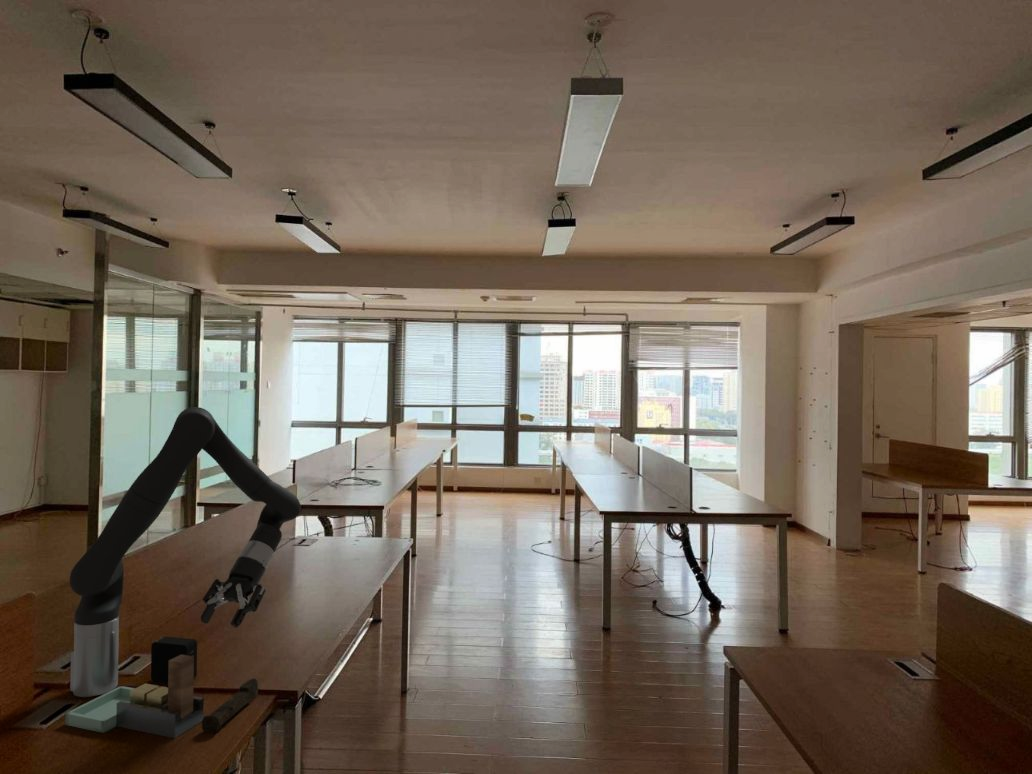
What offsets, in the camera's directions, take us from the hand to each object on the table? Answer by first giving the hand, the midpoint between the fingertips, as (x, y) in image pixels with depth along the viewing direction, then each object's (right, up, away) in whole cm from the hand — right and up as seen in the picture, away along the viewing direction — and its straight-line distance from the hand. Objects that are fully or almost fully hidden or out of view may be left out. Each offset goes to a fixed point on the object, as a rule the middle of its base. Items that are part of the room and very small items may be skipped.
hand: (218, 624), depth 153 cm
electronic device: (-17, -19, +12) cm, 28 cm away
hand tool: (+5, -19, -4) cm, 20 cm away
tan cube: (-13, -16, -8) cm, 22 cm away
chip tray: (-22, -18, -5) cm, 29 cm away
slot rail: (-9, -19, -9) cm, 23 cm away
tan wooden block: (-3, -16, -11) cm, 19 cm away
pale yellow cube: (-8, -16, -9) cm, 20 cm away
